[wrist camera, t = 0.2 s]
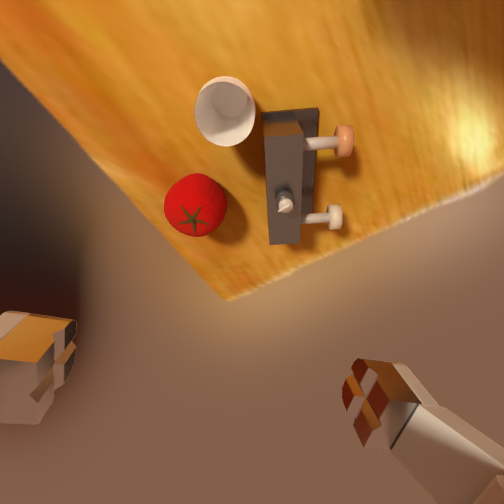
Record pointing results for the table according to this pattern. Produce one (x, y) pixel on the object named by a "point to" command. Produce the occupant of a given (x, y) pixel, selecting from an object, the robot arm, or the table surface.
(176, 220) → the tomato
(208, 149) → the table surface
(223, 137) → the cup
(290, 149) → the mount
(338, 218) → the knob
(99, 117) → the table surface
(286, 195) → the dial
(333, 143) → the knob
